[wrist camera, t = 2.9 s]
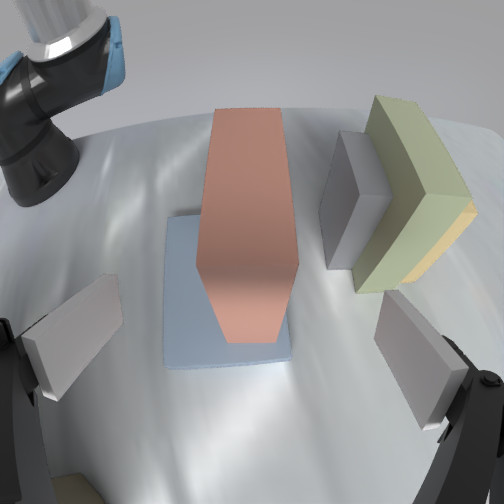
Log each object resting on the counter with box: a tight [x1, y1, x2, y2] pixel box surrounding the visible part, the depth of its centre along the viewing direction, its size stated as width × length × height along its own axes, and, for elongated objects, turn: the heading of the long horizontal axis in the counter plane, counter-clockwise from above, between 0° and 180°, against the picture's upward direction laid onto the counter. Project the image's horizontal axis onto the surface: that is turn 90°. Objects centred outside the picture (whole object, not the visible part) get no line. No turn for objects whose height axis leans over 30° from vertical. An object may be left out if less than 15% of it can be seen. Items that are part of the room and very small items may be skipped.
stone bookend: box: [319, 131, 394, 270], centre depth 29 cm, size 8×3×13 cm, turn 0°
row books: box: [352, 95, 478, 294], centre depth 27 cm, size 12×8×17 cm, turn 0°
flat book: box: [163, 214, 292, 369], centre depth 31 cm, size 17×12×2 cm
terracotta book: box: [196, 108, 299, 343], centre depth 23 cm, size 12×4×16 cm, turn 0°
